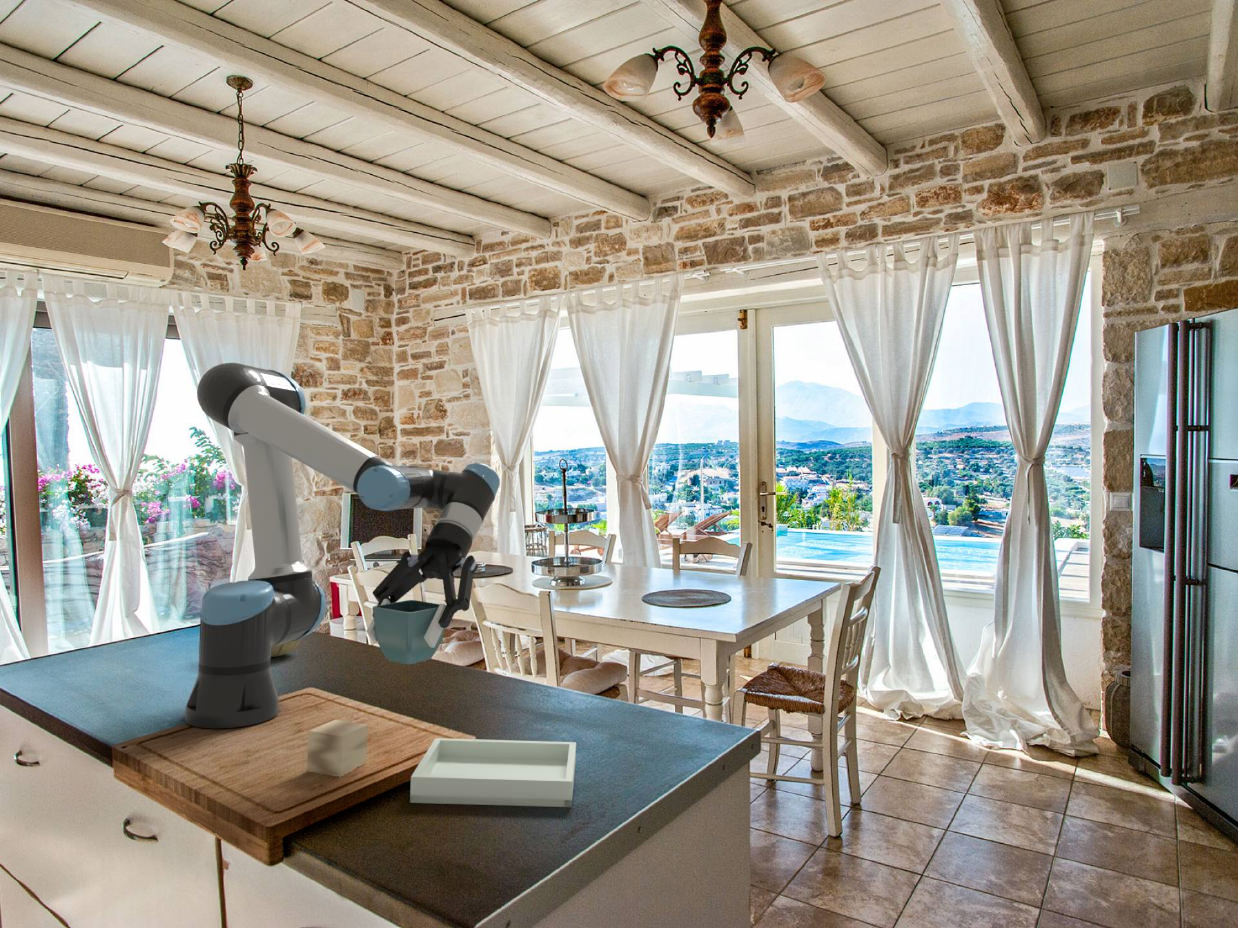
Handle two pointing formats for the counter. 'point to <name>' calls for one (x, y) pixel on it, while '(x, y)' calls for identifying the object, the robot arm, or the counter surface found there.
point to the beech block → (337, 747)
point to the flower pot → (405, 630)
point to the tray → (495, 773)
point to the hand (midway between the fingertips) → (400, 639)
